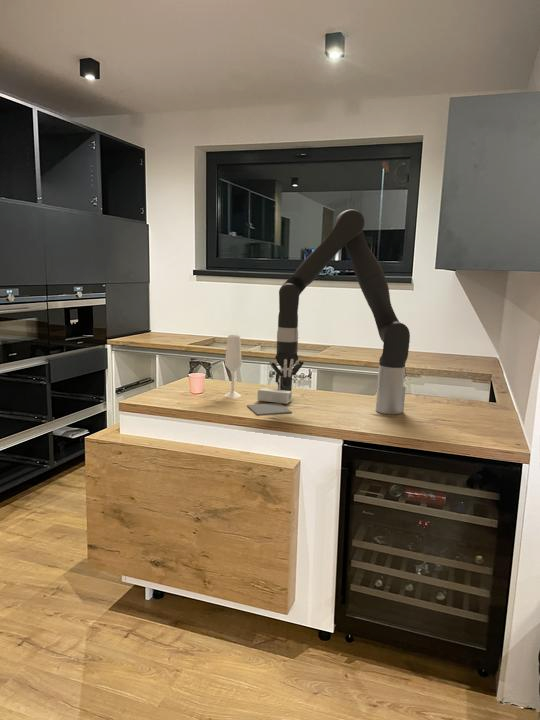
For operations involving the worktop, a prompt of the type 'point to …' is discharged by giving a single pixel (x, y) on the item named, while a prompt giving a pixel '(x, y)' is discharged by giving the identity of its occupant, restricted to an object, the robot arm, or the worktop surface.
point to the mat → (269, 409)
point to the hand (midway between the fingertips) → (285, 386)
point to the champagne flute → (233, 360)
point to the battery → (279, 381)
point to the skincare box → (274, 395)
